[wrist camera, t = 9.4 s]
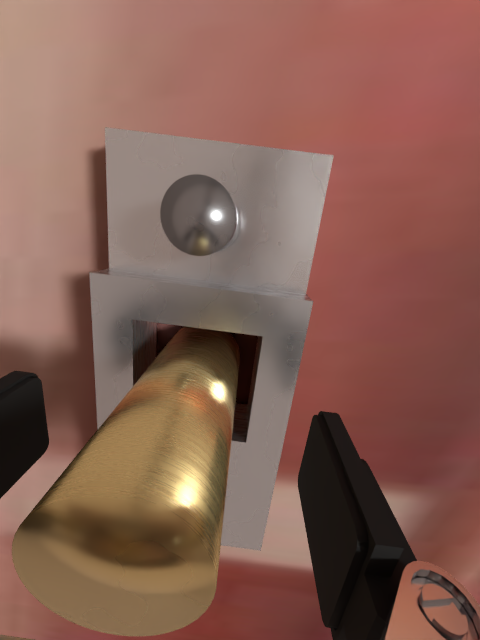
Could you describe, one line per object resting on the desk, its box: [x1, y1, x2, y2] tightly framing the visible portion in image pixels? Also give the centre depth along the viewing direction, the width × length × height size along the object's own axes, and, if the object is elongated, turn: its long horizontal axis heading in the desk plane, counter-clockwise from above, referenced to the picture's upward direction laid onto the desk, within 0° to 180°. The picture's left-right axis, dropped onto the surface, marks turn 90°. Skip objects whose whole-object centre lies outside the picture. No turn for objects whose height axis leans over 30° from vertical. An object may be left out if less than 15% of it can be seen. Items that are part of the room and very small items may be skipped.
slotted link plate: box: [105, 127, 333, 422], centre depth 12 cm, size 14×9×4 cm, turn 173°
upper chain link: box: [89, 268, 313, 551], centre depth 13 cm, size 14×9×6 cm, turn 173°
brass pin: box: [12, 326, 240, 636], centre depth 10 cm, size 4×4×10 cm
